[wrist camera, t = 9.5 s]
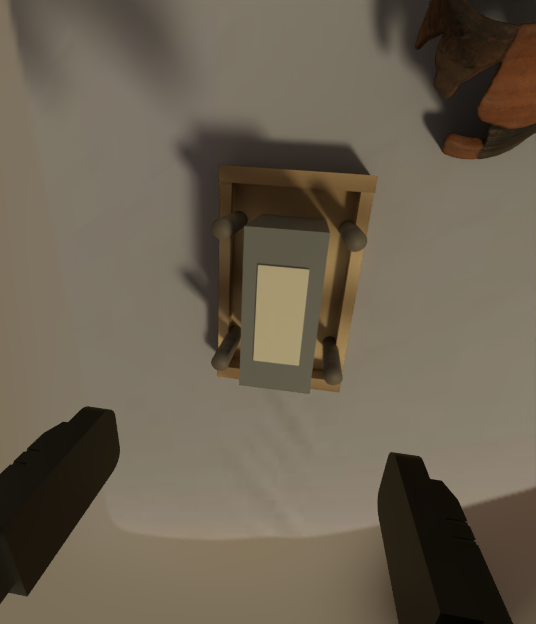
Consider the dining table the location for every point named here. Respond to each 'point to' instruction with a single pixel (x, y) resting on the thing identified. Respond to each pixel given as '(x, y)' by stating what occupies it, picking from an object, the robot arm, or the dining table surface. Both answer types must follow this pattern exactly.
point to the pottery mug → (475, 58)
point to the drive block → (281, 300)
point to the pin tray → (339, 266)
